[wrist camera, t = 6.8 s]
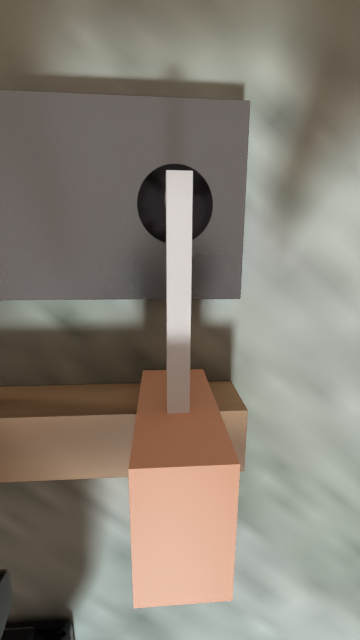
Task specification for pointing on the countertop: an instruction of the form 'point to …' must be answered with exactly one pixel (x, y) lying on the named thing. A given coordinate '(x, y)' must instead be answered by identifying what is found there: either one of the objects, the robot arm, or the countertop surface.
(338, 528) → the countertop surface
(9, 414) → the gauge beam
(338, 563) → the countertop surface
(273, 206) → the countertop surface
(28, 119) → the flange plate
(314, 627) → the countertop surface
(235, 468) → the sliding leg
